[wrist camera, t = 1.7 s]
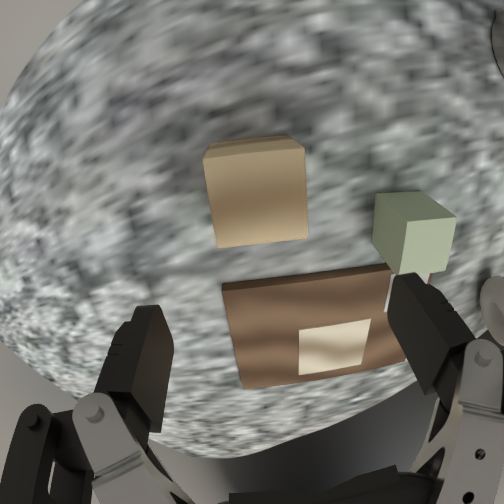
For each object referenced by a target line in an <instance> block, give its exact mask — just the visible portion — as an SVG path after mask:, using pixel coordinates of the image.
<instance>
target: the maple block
mask: <svg viewBox="0 0 504 504" xmlns="http://www.w3.org/2000/svg"><path fill="white" fill-rule="evenodd" d="M202 160H203V166H204V172H205V179H206V185H207V191H208V197H209V203H210V209H211V215H212V220H213V226H214V232H215V237H216V243H217V248H225V247H234V246H243V245H252V244H260V243H269V242H278V241H287V240H296V239H305V238H308V219H307V189H306V167H305V148H304V147H302V146H301V145H300V144H299V143H298V142H296V141H295V140H294V139H293V138H291V137H290V136H289V135H282V136H270V137H259V138H249V139H240V140H232V141H224V142H217V143H211V144H210V146H209V148H208V150H207V151H206V153H205V155H204V157H203V159H202Z"/></svg>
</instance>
